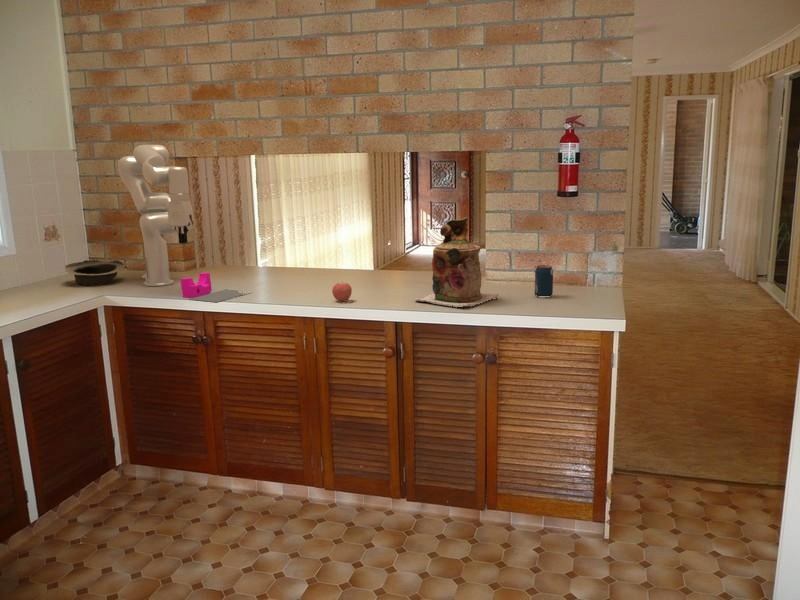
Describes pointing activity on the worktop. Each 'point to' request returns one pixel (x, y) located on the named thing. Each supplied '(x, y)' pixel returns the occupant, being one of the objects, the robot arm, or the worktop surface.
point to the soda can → (544, 280)
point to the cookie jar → (456, 269)
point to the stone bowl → (94, 271)
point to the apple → (342, 291)
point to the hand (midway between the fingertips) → (183, 243)
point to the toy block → (196, 286)
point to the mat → (218, 296)
